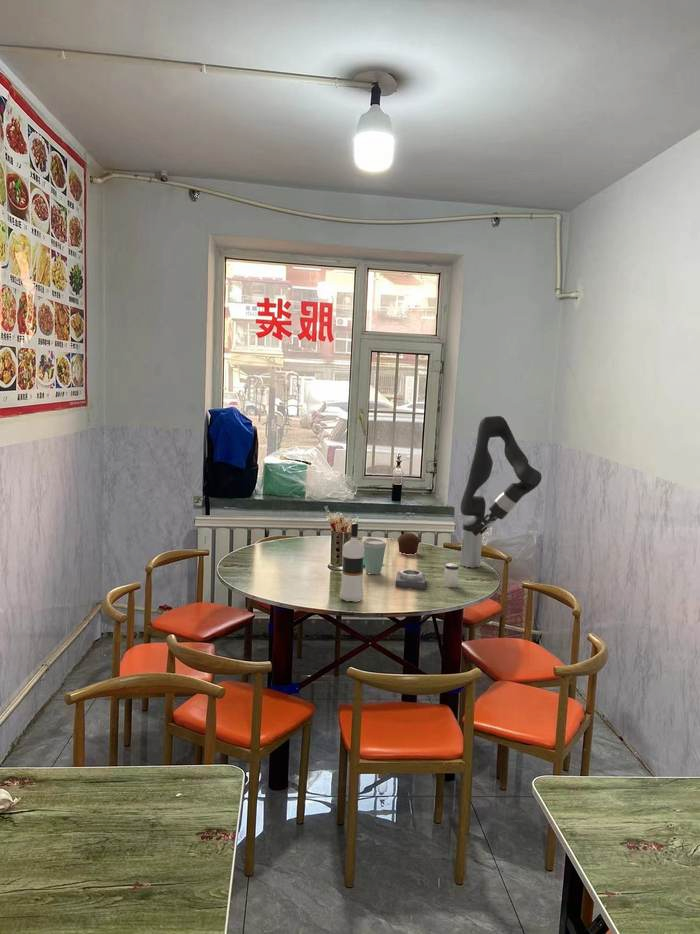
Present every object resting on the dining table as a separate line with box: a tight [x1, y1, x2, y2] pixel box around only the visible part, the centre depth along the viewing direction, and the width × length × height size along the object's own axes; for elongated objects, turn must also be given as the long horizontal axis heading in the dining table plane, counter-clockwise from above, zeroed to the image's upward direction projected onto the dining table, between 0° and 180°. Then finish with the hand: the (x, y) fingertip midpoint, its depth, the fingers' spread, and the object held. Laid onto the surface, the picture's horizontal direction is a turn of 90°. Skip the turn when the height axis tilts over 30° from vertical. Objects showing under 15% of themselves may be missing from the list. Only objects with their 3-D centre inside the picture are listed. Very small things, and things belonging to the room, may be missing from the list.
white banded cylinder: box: [443, 562, 460, 588], centre depth 288 cm, size 6×6×9 cm
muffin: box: [396, 532, 421, 554], centre depth 341 cm, size 12×11×10 cm
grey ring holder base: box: [394, 568, 426, 591], centre depth 288 cm, size 14×12×5 cm
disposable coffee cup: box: [361, 537, 387, 575], centre depth 301 cm, size 11×11×15 cm
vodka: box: [339, 522, 365, 601], centre depth 262 cm, size 9×9×30 cm
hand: (476, 533), depth 286 cm, fingers open, 8 cm apart
